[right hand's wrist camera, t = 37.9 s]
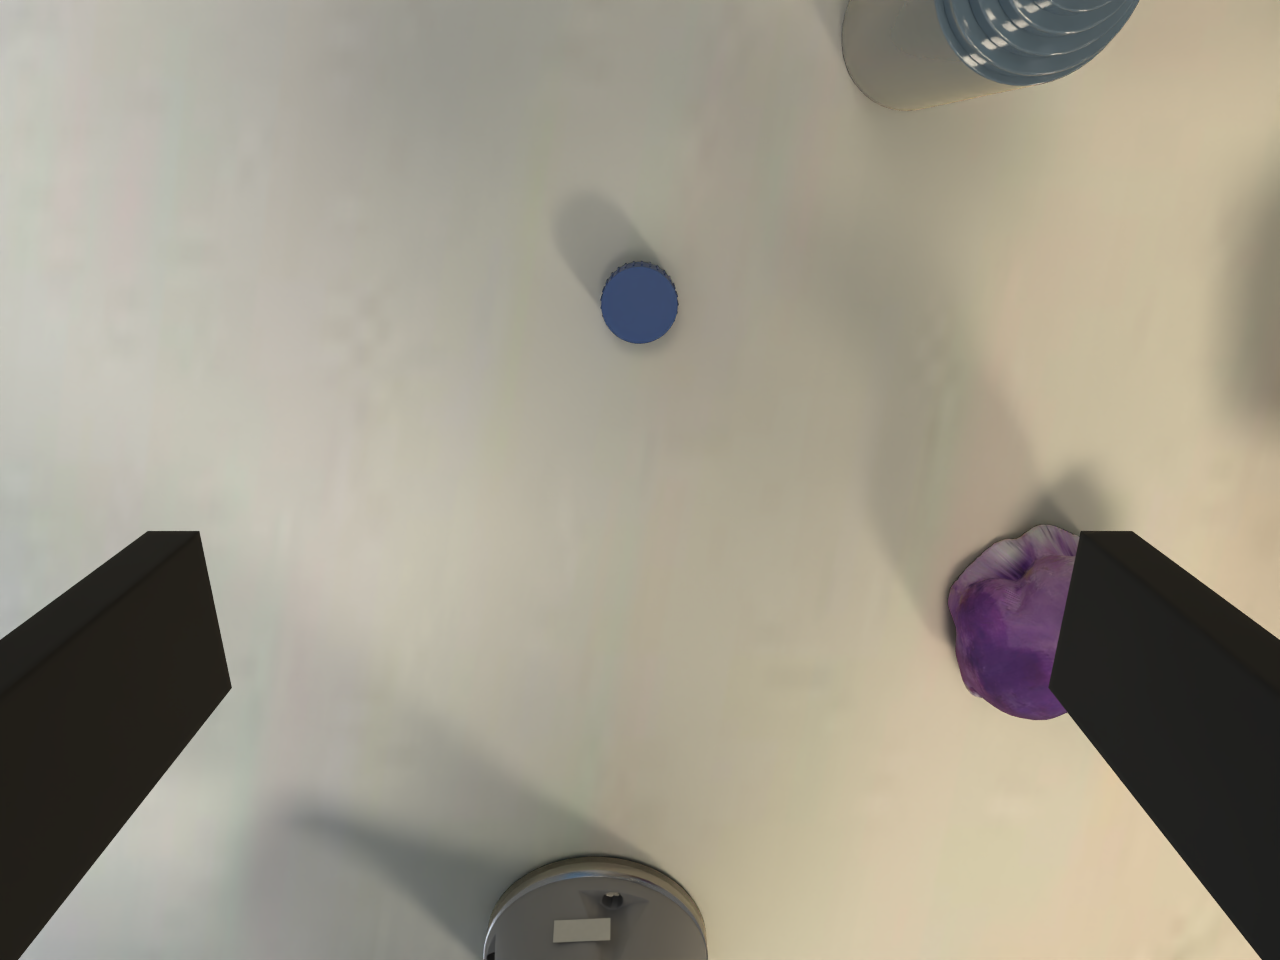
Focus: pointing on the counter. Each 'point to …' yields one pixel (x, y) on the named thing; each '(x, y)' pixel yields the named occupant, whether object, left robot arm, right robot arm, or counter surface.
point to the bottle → (971, 45)
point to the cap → (639, 302)
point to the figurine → (1014, 620)
